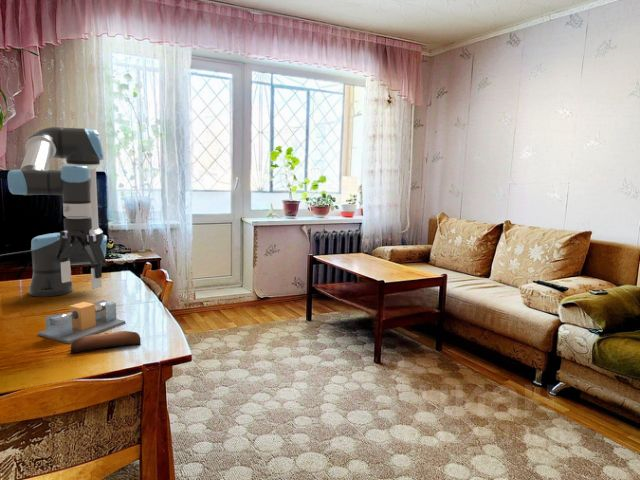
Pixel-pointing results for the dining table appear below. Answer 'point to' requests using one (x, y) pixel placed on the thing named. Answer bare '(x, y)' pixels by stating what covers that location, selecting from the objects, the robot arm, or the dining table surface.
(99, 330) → the board
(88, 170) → the robot arm
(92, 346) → the sunglasses case
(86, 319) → the coupler
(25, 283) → the dining table surface
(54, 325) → the shaft stands
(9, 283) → the dining table surface
